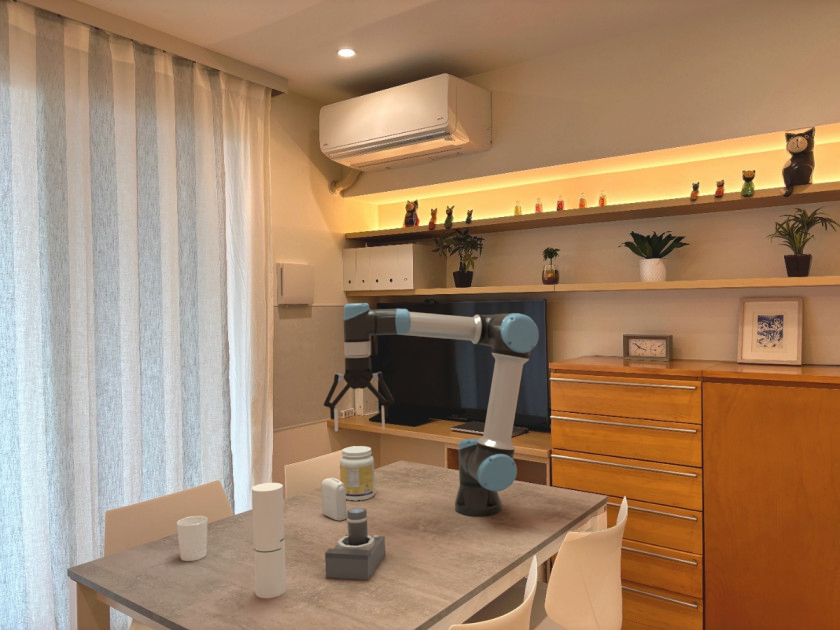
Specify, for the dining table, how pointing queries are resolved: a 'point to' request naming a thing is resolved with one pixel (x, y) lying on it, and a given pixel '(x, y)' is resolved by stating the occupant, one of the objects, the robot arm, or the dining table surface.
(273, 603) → the dining table surface
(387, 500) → the dining table surface
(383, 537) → the camera body
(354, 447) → the supplement tub
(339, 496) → the photo printer
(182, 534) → the white cup
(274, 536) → the cylindrical container
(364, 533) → the lens
